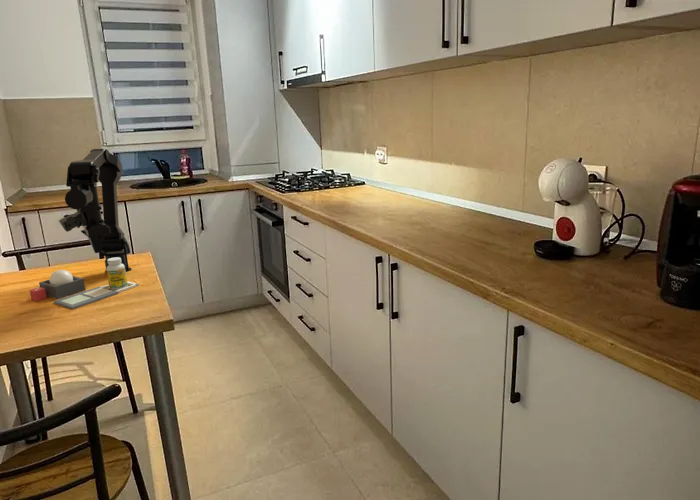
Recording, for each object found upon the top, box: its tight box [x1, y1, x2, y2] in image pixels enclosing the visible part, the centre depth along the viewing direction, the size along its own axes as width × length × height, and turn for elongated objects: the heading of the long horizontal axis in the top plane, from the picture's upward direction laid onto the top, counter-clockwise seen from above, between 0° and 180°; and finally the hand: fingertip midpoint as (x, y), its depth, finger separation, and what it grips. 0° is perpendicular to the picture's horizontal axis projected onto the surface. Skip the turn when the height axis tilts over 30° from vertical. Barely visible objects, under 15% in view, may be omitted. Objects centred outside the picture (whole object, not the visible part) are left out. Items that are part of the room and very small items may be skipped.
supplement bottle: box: [105, 257, 129, 291], centre depth 162 cm, size 5×5×10 cm
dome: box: [48, 269, 74, 286], centre depth 159 cm, size 7×7×6 cm
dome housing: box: [29, 275, 87, 302], centre depth 158 cm, size 13×9×4 cm
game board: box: [53, 280, 140, 310], centre depth 157 cm, size 22×10×1 cm, turn 148°
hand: (96, 252), depth 159 cm, fingers closed
